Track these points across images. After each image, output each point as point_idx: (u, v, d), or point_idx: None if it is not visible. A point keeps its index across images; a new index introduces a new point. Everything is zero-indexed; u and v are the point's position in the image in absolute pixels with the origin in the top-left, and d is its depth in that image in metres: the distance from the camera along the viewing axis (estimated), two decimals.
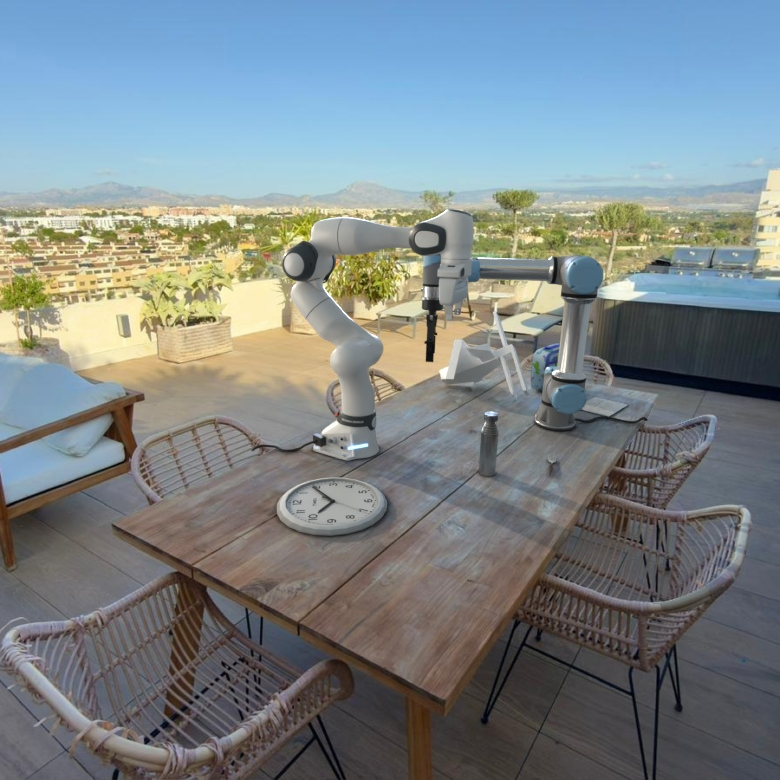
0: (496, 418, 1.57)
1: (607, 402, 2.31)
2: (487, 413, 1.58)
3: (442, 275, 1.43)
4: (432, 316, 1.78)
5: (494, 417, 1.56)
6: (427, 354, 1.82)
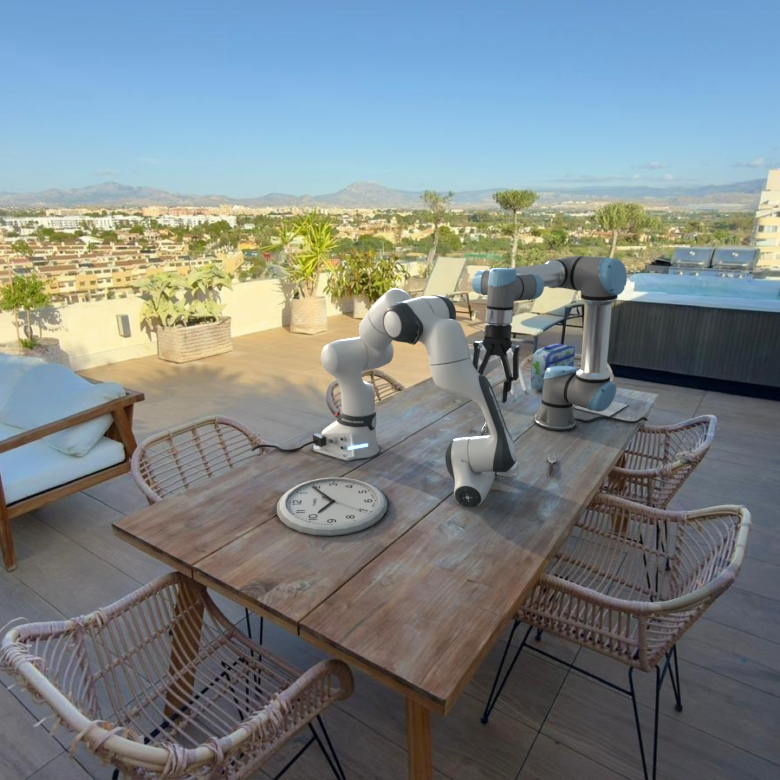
0: None
1: None
2: None
3: None
4: None
5: None
6: None
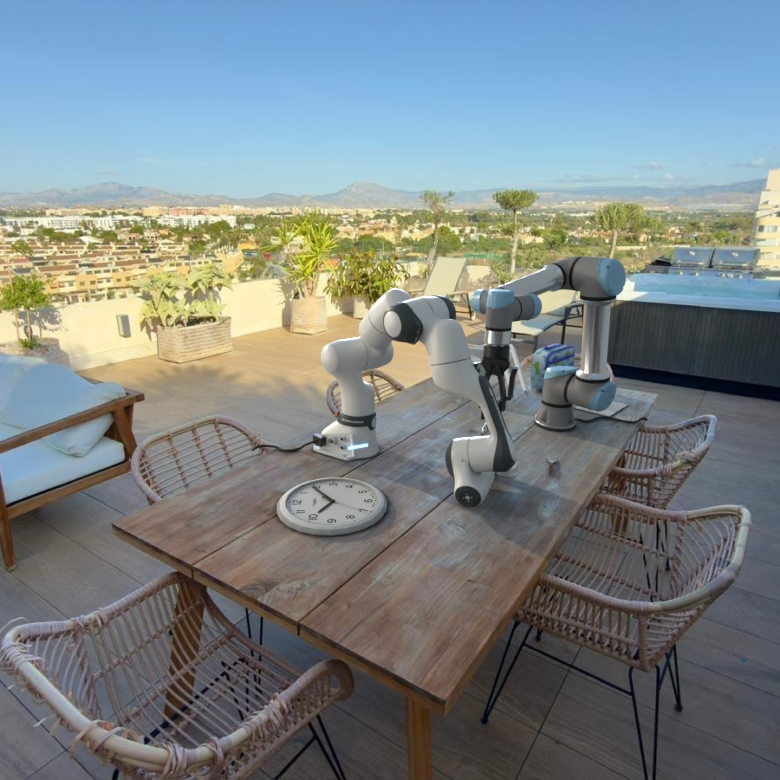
0: None
1: None
2: None
3: None
4: None
5: None
6: None
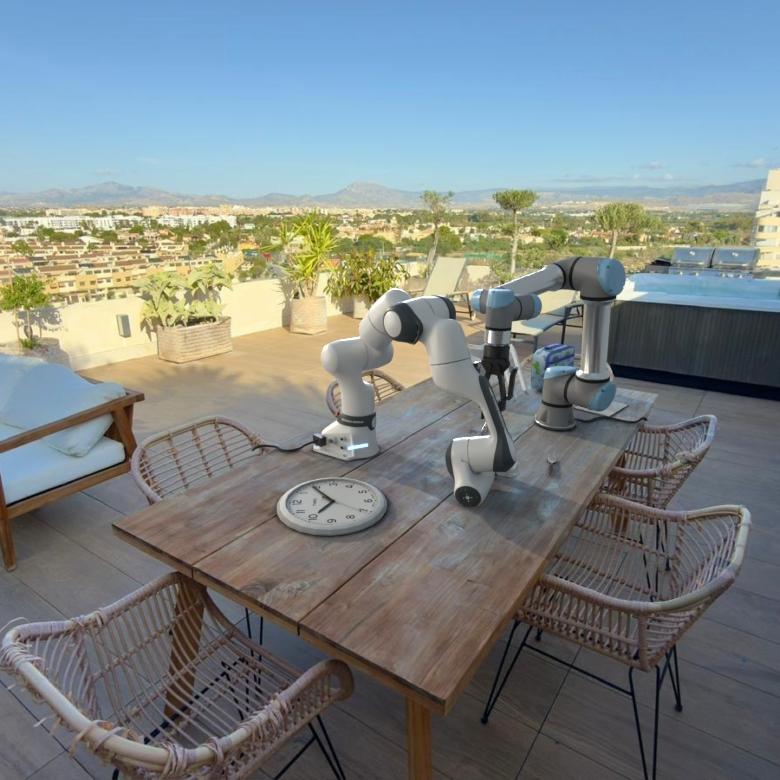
0: None
1: None
2: None
3: None
4: None
5: None
6: None
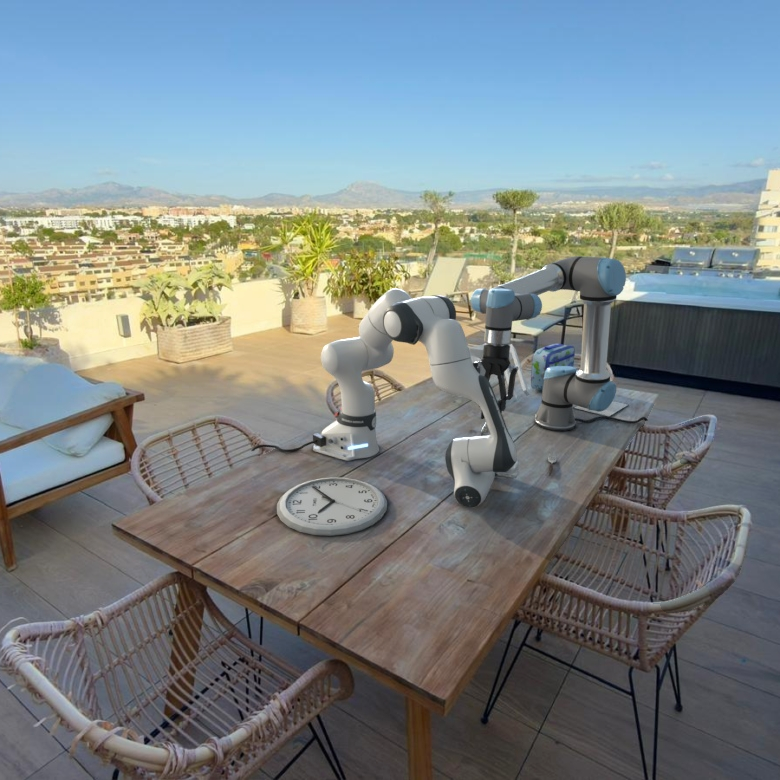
0: None
1: None
2: None
3: None
4: None
5: None
6: None
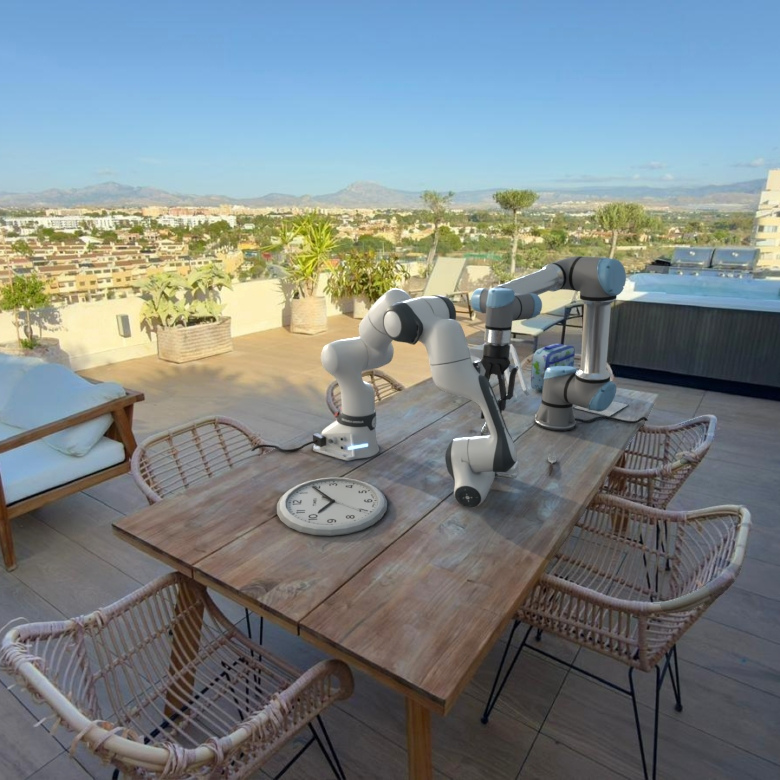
0: None
1: None
2: None
3: None
4: None
5: None
6: None
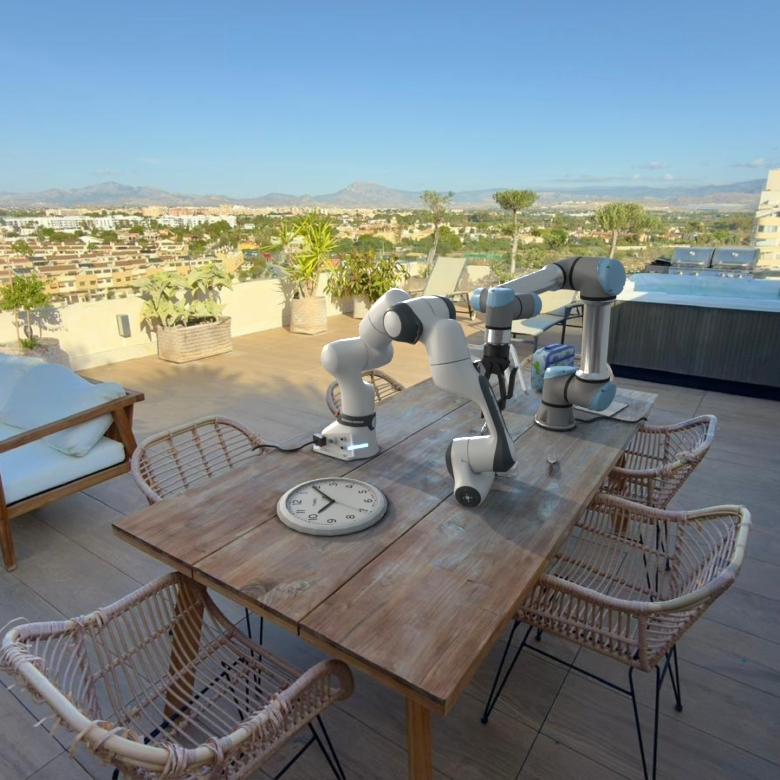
0: None
1: None
2: None
3: None
4: None
5: None
6: None
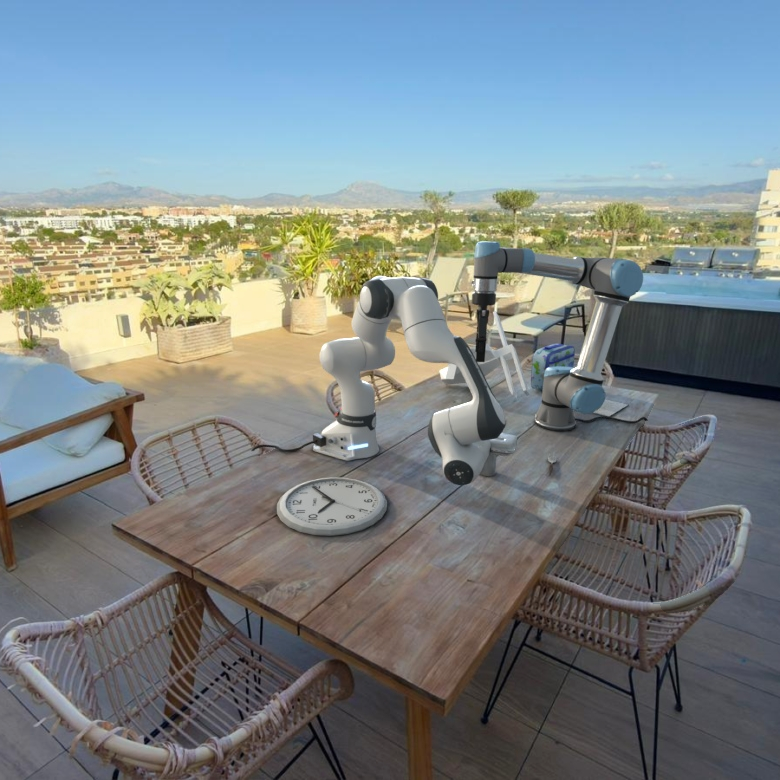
0: None
1: (607, 402, 2.31)
2: None
3: None
4: (484, 311, 1.62)
5: None
6: (478, 353, 1.65)
